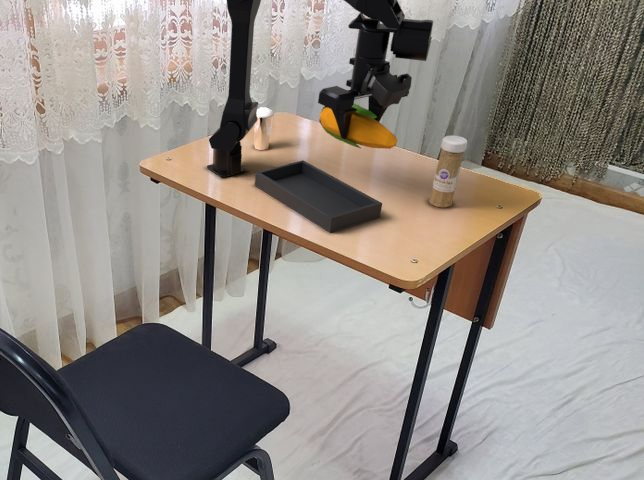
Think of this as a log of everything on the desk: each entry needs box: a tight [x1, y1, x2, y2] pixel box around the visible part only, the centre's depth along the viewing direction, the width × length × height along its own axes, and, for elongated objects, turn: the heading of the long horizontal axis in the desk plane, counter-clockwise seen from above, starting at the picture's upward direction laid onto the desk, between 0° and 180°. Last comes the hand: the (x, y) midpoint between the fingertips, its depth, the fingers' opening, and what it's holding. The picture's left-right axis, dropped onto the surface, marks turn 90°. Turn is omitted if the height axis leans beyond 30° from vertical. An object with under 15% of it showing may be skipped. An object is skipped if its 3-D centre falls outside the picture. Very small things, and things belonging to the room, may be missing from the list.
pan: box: [254, 159, 383, 233], centre depth 149 cm, size 25×13×3 cm, turn 31°
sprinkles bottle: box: [428, 135, 468, 208], centre depth 144 cm, size 5×5×14 cm
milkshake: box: [253, 106, 275, 151], centre depth 169 cm, size 4×5×10 cm
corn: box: [318, 103, 398, 149], centre depth 146 cm, size 7×8×20 cm
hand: (357, 135), depth 147 cm, fingers closed on corn, 7 cm apart
